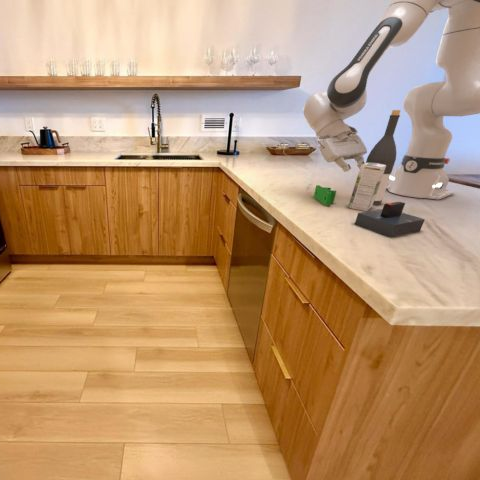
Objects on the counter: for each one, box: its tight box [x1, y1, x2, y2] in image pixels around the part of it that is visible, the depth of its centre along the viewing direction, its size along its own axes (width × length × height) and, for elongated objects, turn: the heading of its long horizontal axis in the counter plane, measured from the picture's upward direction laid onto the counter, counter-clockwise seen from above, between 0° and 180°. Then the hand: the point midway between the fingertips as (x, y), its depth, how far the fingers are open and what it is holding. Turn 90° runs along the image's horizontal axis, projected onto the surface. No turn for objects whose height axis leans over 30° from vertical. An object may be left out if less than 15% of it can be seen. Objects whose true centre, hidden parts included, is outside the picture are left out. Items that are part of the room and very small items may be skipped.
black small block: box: [381, 201, 406, 218], centre depth 78 cm, size 6×2×4 cm, turn 111°
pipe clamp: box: [313, 184, 337, 207], centre depth 102 cm, size 11×4×5 cm, turn 173°
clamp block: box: [354, 208, 426, 238], centre depth 79 cm, size 12×10×4 cm
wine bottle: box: [365, 109, 401, 206], centre depth 96 cm, size 8×8×30 cm
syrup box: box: [347, 162, 386, 212], centre depth 93 cm, size 6×6×14 cm
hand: (355, 169), depth 95 cm, fingers open, 8 cm apart
